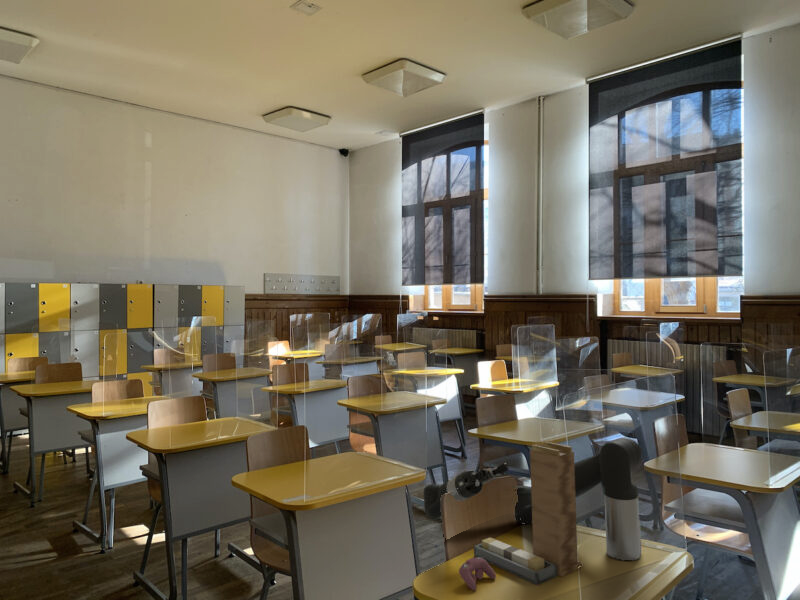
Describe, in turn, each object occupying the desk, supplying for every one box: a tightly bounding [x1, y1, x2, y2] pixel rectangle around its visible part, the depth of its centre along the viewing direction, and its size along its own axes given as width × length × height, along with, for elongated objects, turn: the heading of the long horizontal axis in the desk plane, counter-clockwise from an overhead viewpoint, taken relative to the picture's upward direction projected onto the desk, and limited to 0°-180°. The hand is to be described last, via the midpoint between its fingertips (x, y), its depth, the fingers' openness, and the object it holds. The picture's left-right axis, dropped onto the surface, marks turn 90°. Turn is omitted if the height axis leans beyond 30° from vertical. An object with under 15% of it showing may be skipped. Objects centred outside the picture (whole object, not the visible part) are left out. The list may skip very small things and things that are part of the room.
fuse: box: [481, 537, 545, 572], centre depth 167 cm, size 4×20×4 cm, turn 38°
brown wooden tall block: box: [529, 441, 583, 578], centre depth 166 cm, size 9×11×34 cm
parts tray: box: [473, 542, 558, 586], centre depth 167 cm, size 8×24×3 cm, turn 37°
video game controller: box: [458, 557, 497, 592], centre depth 158 cm, size 10×5×7 cm, turn 135°
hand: (496, 469), depth 171 cm, fingers open, 8 cm apart
